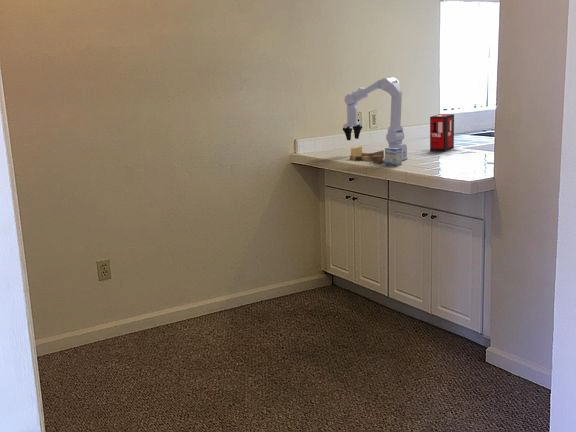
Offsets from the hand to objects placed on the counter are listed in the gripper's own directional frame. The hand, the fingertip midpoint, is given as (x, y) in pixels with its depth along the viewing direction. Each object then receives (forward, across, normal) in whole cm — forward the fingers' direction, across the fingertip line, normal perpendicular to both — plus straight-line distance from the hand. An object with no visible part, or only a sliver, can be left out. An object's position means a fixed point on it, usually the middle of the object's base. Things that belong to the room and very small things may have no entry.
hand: (352, 139), depth 365 cm
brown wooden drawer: (+10, +7, +15) cm, 19 cm away
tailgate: (+9, +7, +8) cm, 14 cm away
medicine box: (+10, +14, +36) cm, 40 cm away
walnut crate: (+10, +14, +26) cm, 31 cm away
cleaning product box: (+10, -46, +32) cm, 56 cm away
